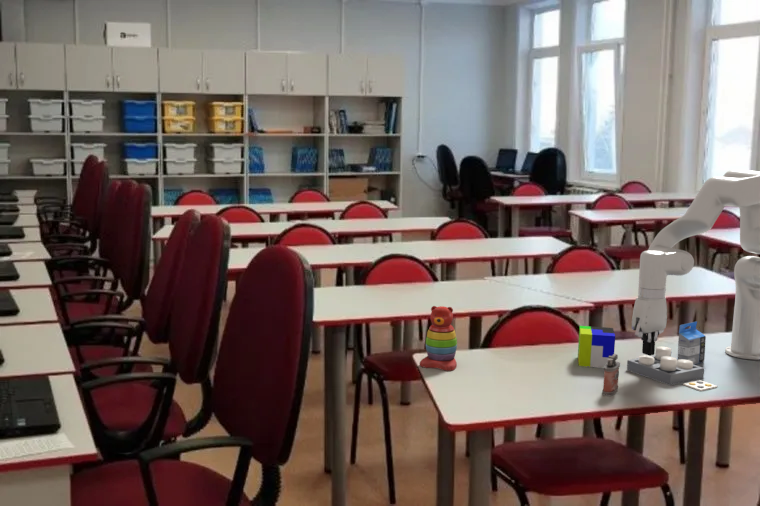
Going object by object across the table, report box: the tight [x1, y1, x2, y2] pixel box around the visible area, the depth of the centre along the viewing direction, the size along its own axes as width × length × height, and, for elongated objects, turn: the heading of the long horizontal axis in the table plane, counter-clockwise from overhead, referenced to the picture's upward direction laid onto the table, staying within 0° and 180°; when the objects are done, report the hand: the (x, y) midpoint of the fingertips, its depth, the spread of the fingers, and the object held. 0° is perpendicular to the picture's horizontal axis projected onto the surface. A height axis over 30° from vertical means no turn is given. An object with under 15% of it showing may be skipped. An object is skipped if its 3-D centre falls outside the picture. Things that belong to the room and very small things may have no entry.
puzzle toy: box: [577, 325, 616, 368], centre depth 251 cm, size 10×10×10 cm
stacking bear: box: [419, 305, 458, 371], centre depth 246 cm, size 11×10×18 cm
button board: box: [626, 354, 705, 386], centre depth 242 cm, size 14×16×3 cm
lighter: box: [601, 353, 621, 397], centre depth 225 cm, size 8×3×10 cm, turn 148°
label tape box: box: [677, 321, 707, 365], centre depth 252 cm, size 9×4×12 cm, turn 126°
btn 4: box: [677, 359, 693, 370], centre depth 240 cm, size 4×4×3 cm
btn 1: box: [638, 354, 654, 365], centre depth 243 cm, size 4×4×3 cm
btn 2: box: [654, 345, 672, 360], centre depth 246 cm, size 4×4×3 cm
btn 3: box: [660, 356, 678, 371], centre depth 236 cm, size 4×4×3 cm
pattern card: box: [682, 379, 719, 392], centre depth 231 cm, size 7×6×1 cm
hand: (648, 353), depth 243 cm, fingers closed
